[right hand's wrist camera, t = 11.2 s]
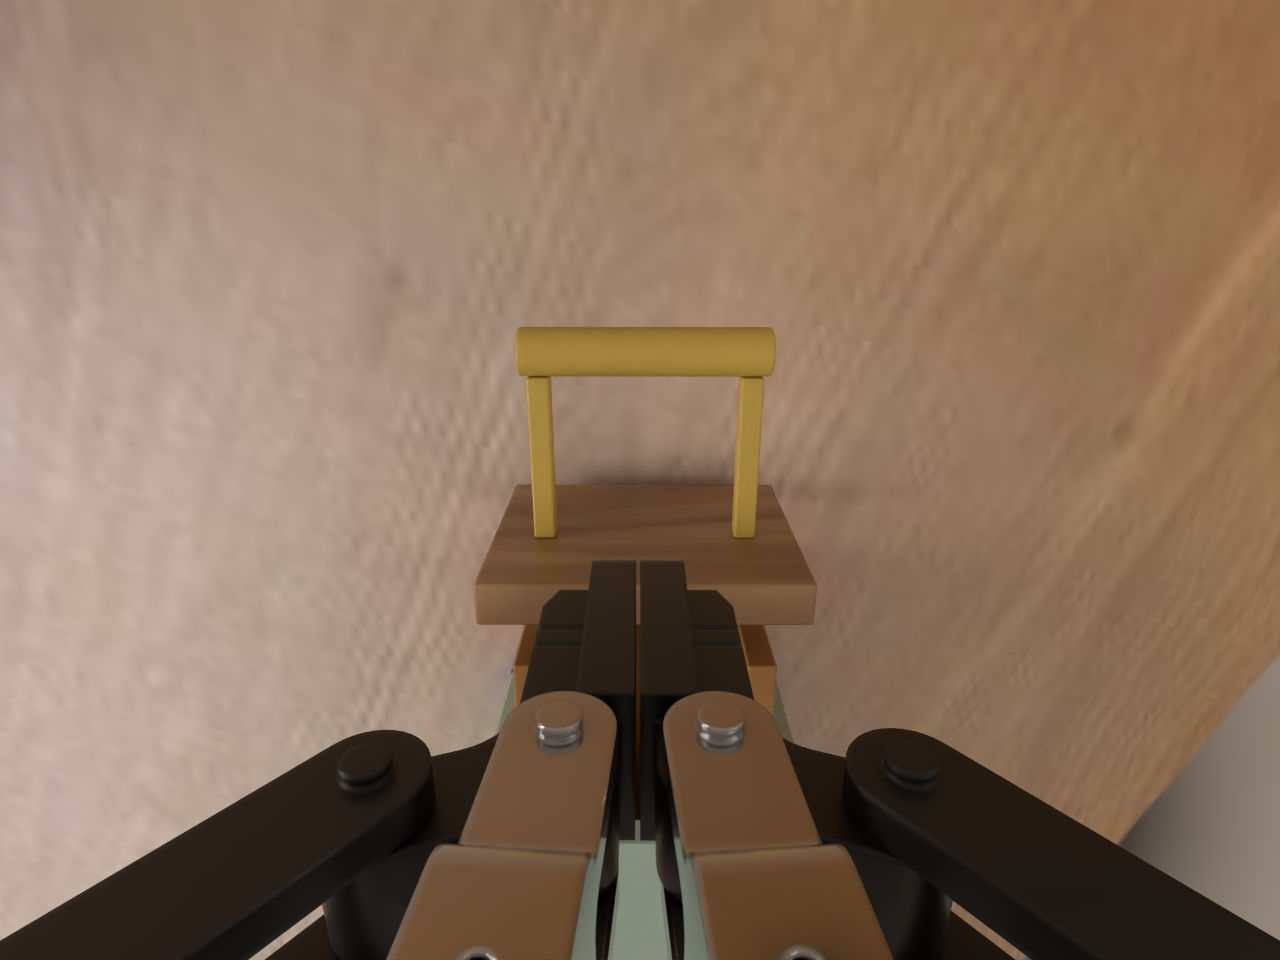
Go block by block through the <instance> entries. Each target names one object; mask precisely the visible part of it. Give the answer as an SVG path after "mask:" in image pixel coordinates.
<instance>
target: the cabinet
mask: <svg viewBox="0 0 1280 960" xmlns="http://www.w3.org/2000/svg"><path fill="white" fill-rule="evenodd" d="M514 708H515V694H514V680H513V668H512V671H511V678H510V682H509V686H508V689H507V693H506V697H505V700H504V704H503V708H502V711H501V715H500V719H499V722H498V726H497V730H496V734H495V735H497V734H498V733H500V730H501V728H502V725H503V723H504V721H505V719H506V717H507V716H508V715H509V713H510V712H511V711H512V710H513V709H514ZM773 717H774V719H775V721H776V723H777V725H778V728H779V730H780V733H781V736H782V738H784V739H786V740H788V741H790V742H792V743H794V740H793V737H792V733H791V730H790V726H789V723H788V719H787V716H786V712H785V708H784V705H783V701H782V698H781V694H780V691H779V687H778V684H777V680H776V685H775V697H774V710H773ZM612 960H668V955H667V946H666V937H665V929H664V920H663V911H662V903H661V881H660V879H659V876H658V873H657V867H656V842H655V841H640V820H635V840H619V903H618V911H617V920H616V929H615V937H614V946H613V955H612Z"/></svg>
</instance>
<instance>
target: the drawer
mask: <svg viewBox="0 0 1280 960" xmlns="http://www.w3.org/2000/svg"><path fill="white" fill-rule="evenodd" d="M775 357H776V340H775V334H774V330H773V329H772V328H770V327H520V328H518V330H517V332H516V338H515V360H516V367H517V371H518V373H519V375H521V376H528V377H527V380H526V384H527V403H528V422H529V441H530V459H531V478H532V485H517V486H516V488H515V490H514V493H513V495H512V497H511V500H510V502H509V504H508V507H507V509H506V511H505V514H504V516H503V518H502V520H501V523H500V525H499V527H498V530H497V532H496V534H495V537H494V539H493V541H492V544H491V546H490V548H489V551H488V553H487V555H486V557H485V560H484V562H483V564H482V567H481V569H480V571H479V574H478V576H477V578H476V581H475V583H474V585H473V588H474V600H475V611H476V621H477V624H524V627H523V631H522V635H521V638H520V642H519V646H518V649H517V653H516V657H515V660H514V664H513V680H514V694H515V707H516V706H518V705H519V704H520V701H521V696H522V692H523V688H524V684H525V680H526V675H527V671H528V667H529V663H530V659H531V654H532V650H533V646H534V645H535V638H536V633H537V629H538V625H539V621H540V617H541V612H542V608H543V606H544V605H545V604H546V603H547V602H548V601H549V600H550V599H551V598H552V597H553V596H554V595H555V594H556V593H557V592H558V591H559V590H589V582H590V574H591V567H592V561H593V560H636V782H635V820H640V560H684V566H685V574H686V583H687V590H717V591H718V592H719V593H720V594H721V595H722V596H723V597H724V598H725V599H726V600H727V601H728V602H729V603H730V604H731V605H732V606H733V608H734V613H735V617H736V622H737V629H738V630H739V635H740V639H741V646H742V648H743V652H744V657H745V661H746V665H747V670H748V674H749V678H750V683H751V687H752V692H753V696H754V700H755V701H756V702H758V703H759V704H761V705H762V706H764V707H765V708H766V709H767V710H768V711H769V712H770V713H771V715H772V716H773V710H774V697H775V685H776V672H777V666H776V663H775V660H774V656H773V653H772V649H771V646H770V642H769V639H768V636H767V632H766V629H765V625H812V624H813V622H814V612H815V602H816V592H817V585H816V583H815V581H814V578H813V576H812V574H811V572H810V570H809V567H808V565H807V563H806V561H805V559H804V557H803V554H802V552H801V550H800V548H799V546H798V544H797V541H796V539H795V537H794V535H793V533H792V530H791V528H790V526H789V524H788V522H787V520H786V517H785V515H784V513H783V511H782V509H781V506H780V504H779V502H778V500H777V498H776V496H775V493H774V491H773V489H772V487H771V485H758V472H759V456H760V440H761V423H762V407H763V391H764V379H763V377H768V376H771V375H772V373H773V370H774V366H775ZM551 376H739V394H738V414H737V434H736V455H735V475H734V485H555V465H554V441H553V416H552V392H551Z"/></svg>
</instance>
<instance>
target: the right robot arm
mask: <svg viewBox="0 0 1280 960" xmlns="http://www.w3.org/2000/svg"><path fill="white" fill-rule="evenodd" d="M635 782H636V560H593V561H592V567H591V574H590V582H589V590H559V591H558V592H557V593H556V594H555V595H554V596H553V597H552V598H551V599H550V600H549V601H548V602H547V603H546V604H545V605H544V606H543V608H542V612H541V617H540V621H539V625H538V629H537V633H536V638H535V645H534V646H533V650H532V654H531V659H530V663H529V667H528V671H527V675H526V680H525V684H524V688H523V692H522V696H521V701H520V704H519V705H518V706H516V707H515V708H514V709H513V710H512V711H511V712H510V713H509V715H508V716H507V717H506V719H505V721H504V723H503V725H502V728H501V730H500V733H498V734H497V735H495V736H494V737H492V738H490V739H488V740H486V741H485V742H483V743H480V744H478V745H475V746H473V747H469V748H466V749H462V750H458V751H454V752H450V753H446V754H441V755H437V756H433V757H431V754H430V752H429V749H428V747H427V746H426V744H425V743H424V742H423V741H422V740H420V739H419V738H418V737H416V736H414V735H412V734H409V733H406V732H402V731H396V730H377V731H370V732H365V733H361V734H357V735H354V736H351V737H349V738H346V739H344V740H342V741H340V742H338V743H336V744H334V745H332V746H330V747H329V748H327V749H325V750H324V751H322V752H320V753H318V754H317V755H315V756H313V757H312V758H310V759H308V760H307V761H305V762H303V763H301V764H300V765H298V766H296V767H295V768H293V769H291V770H290V771H288V772H286V773H284V774H283V775H281V776H279V777H278V778H276V779H274V780H273V781H271V782H269V783H267V784H266V785H264V786H262V787H261V788H259V789H257V790H256V791H254V792H252V793H250V794H249V795H247V796H245V797H244V798H242V799H240V800H239V801H237V802H235V803H233V804H232V805H230V806H228V807H227V808H225V809H223V810H222V811H220V812H218V813H216V814H215V815H213V816H211V817H210V818H208V819H206V820H205V821H203V822H201V823H200V824H198V825H196V826H194V827H193V828H191V829H189V830H188V831H186V832H184V833H183V834H181V835H179V836H177V837H176V838H174V839H172V840H171V841H169V842H167V843H166V844H164V845H162V846H160V847H159V848H157V849H155V850H154V851H152V852H150V853H149V854H147V855H145V856H143V857H142V858H140V859H138V860H137V861H135V862H133V863H132V864H130V865H128V866H126V867H125V868H123V869H121V870H120V871H118V872H116V873H115V874H113V875H111V876H109V877H108V878H106V879H104V880H103V881H101V882H99V883H98V884H96V885H94V886H92V887H91V888H89V889H87V890H86V891H84V892H82V893H81V894H79V895H77V896H75V897H74V898H72V899H70V900H69V901H67V902H65V903H64V904H62V905H60V906H58V907H57V908H55V909H53V910H52V911H50V912H48V913H47V914H45V915H43V916H41V917H40V918H38V919H36V920H35V921H33V922H31V923H30V924H28V925H26V926H24V927H23V928H21V929H19V930H18V931H16V932H14V933H13V934H11V935H9V936H8V937H6V938H4V939H2V940H1V941H0V960H248V959H250V958H251V957H252V956H254V955H255V954H256V953H258V952H259V951H260V950H262V949H263V948H264V947H266V946H267V945H268V944H270V943H271V942H272V941H274V940H275V939H276V938H278V937H279V936H280V935H282V934H283V933H284V932H286V931H287V930H288V929H290V928H291V927H292V926H294V925H295V924H296V923H298V922H299V921H300V920H302V919H303V918H304V917H306V916H307V915H308V914H310V913H311V912H312V911H314V910H315V909H316V908H318V907H319V906H320V905H322V906H323V910H324V915H323V916H321V917H320V918H319V919H317V920H316V921H315V922H313V923H312V924H311V925H310V926H308V927H307V928H306V929H304V930H303V931H302V932H300V933H299V934H298V935H296V936H295V937H294V938H293V939H291V940H290V941H289V942H287V943H286V944H285V945H283V946H282V947H281V948H279V949H278V950H277V951H276V952H274V953H273V954H272V955H270V956H269V957H268V958H266V959H265V960H612V955H613V946H614V937H615V929H616V920H617V911H618V903H619V840H635ZM640 841H655V842H656V867H657V873H658V876H659V879H660V881H661V903H662V911H663V920H664V929H665V937H666V946H667V955H668V960H1015V959H1014V958H1012V957H1011V956H1010V955H1008V954H1007V953H1006V952H1004V951H1003V950H1002V949H1001V948H999V947H998V946H997V945H995V944H994V943H993V942H991V941H990V940H989V939H987V938H986V937H985V936H984V935H982V934H981V933H980V932H978V931H977V930H976V929H974V928H973V927H972V926H970V925H969V924H968V923H967V922H965V921H964V920H963V919H961V918H960V917H959V916H957V915H956V914H955V913H953V912H952V911H951V907H952V902H953V901H954V902H956V903H957V904H958V905H960V906H961V907H962V908H964V909H965V910H966V911H968V912H969V913H970V914H972V915H973V916H974V917H976V918H977V919H978V920H980V921H981V922H982V923H984V924H985V925H986V926H988V927H989V928H990V929H992V930H993V931H994V932H996V933H997V934H998V935H1000V936H1001V937H1002V938H1004V939H1005V940H1006V941H1008V942H1009V943H1010V944H1012V945H1013V946H1014V947H1016V948H1017V949H1018V950H1020V951H1021V952H1022V953H1024V954H1025V955H1026V956H1028V957H1029V958H1030V959H1032V960H1280V941H1279V940H1278V939H1276V938H1274V937H1272V936H1271V935H1269V934H1267V933H1266V932H1264V931H1262V930H1261V929H1259V928H1257V927H1255V926H1254V925H1252V924H1250V923H1249V922H1247V921H1245V920H1244V919H1242V918H1240V917H1238V916H1237V915H1235V914H1233V913H1232V912H1230V911H1228V910H1227V909H1225V908H1223V907H1221V906H1220V905H1218V904H1216V903H1215V902H1213V901H1211V900H1210V899H1208V898H1206V897H1204V896H1203V895H1201V894H1199V893H1198V892H1196V891H1194V890H1193V889H1191V888H1189V887H1187V886H1186V885H1184V884H1182V883H1181V882H1179V881H1177V880H1176V879H1174V878H1172V877H1171V876H1169V875H1167V874H1165V873H1164V872H1162V871H1160V870H1159V869H1157V868H1155V867H1154V866H1152V865H1150V864H1148V863H1147V862H1145V861H1143V860H1142V859H1140V858H1138V857H1137V856H1135V855H1133V854H1131V853H1130V852H1128V851H1126V850H1125V849H1123V848H1121V847H1120V846H1118V845H1116V844H1114V843H1113V842H1111V841H1109V840H1108V839H1106V838H1104V837H1103V836H1101V835H1099V834H1097V833H1096V832H1094V831H1092V830H1091V829H1089V828H1087V827H1086V826H1084V825H1082V824H1080V823H1079V822H1077V821H1075V820H1074V819H1072V818H1070V817H1069V816H1067V815H1065V814H1063V813H1062V812H1060V811H1058V810H1057V809H1055V808H1053V807H1052V806H1050V805H1048V804H1046V803H1045V802H1043V801H1041V800H1040V799H1038V798H1036V797H1035V796H1033V795H1031V794H1029V793H1028V792H1026V791H1024V790H1023V789H1021V788H1019V787H1018V786H1016V785H1014V784H1013V783H1011V782H1009V781H1007V780H1006V779H1004V778H1002V777H1001V776H999V775H997V774H996V773H994V772H992V771H990V770H989V769H987V768H985V767H984V766H982V765H980V764H979V763H977V762H975V761H973V760H972V759H970V758H968V757H967V756H965V755H963V754H962V753H960V752H958V751H956V750H955V749H953V748H951V747H950V746H948V745H946V744H945V743H943V742H941V741H939V740H937V739H935V738H933V737H930V736H928V735H925V734H922V733H919V732H915V731H911V730H905V729H896V728H884V729H877V730H872V731H869V732H866V733H864V734H862V735H860V736H858V737H857V738H856V739H855V740H854V741H853V742H852V743H851V744H850V746H849V748H848V750H847V753H846V758H845V757H841V756H836V755H832V754H828V753H824V752H819V751H815V750H811V749H808V748H804V747H801V746H799V745H796V744H794V743H792V742H790V741H788V740H786V739H784V738H782V736H781V733H780V730H779V728H778V725H777V723H776V721H775V719H774V717H773V716H772V715H771V713H770V712H769V711H768V710H767V709H766V708H765V707H764V706H762V705H761V704H759V703H758V702H756V701H755V700H754V696H753V692H752V687H751V683H750V678H749V674H748V670H747V665H746V661H745V657H744V652H743V648H742V646H741V639H740V635H739V630H738V629H737V622H736V617H735V613H734V608H733V606H732V605H731V604H730V603H729V602H728V601H727V600H726V599H725V598H724V597H723V596H722V595H721V594H720V593H719V592H718V591H717V590H687V583H686V574H685V566H684V560H640Z"/></svg>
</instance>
